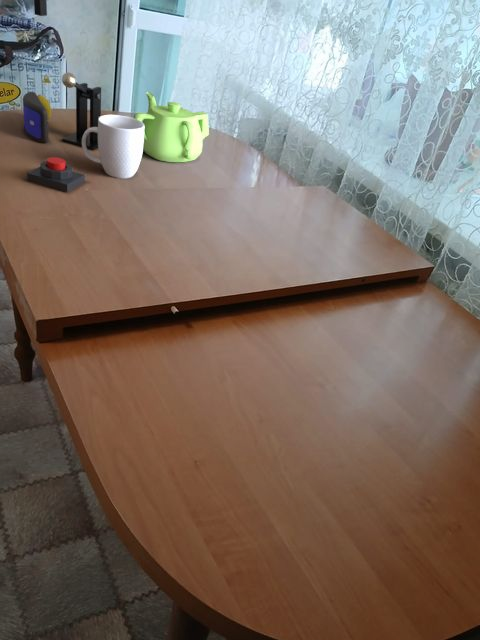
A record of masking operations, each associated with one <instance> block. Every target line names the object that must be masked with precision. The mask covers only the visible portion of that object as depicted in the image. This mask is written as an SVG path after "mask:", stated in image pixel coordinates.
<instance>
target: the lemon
mask: <svg viewBox="0 0 480 640" xmlns="http://www.w3.org/2000/svg"><path fill="white" fill-rule="evenodd" d="M37 96H38V98H39V99H40V101H41V102H42V104H43V105H44V107H45V108H46V111H47V121H48V120H49V119H50V117H51V115H52V107H51V104H50V101H49V100H48V99H47V98H46V97H45V96H44V95H42V94H40V93H39V94H37Z"/></svg>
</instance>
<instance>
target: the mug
mask: <svg viewBox="0 0 480 640" xmlns="http://www.w3.org/2000/svg"><path fill="white" fill-rule="evenodd" d="M90 132H95V133H97V134H98V148H97V149H98V156H99V158H98V157H95V156H94V155H92V154H91V153H90V152H89V149H87V147H86V138H87V135H88V134H89V133H90ZM143 143H144V124H143V123H142V122H141V121H139V120H137V119H134V117H131V116H127V115H121V114H105V115H101V116H100V117H99V118H98V127H91V128H90V127H88V128H87V130H86V131H85V133H84V134H83V137H82V147H81V149H82V151H83V154H84V155H85V156H86V158H87V159H89V160H90V161H91V162H94V163H97V164H99V165H101V166H102V169H103V170H104V172H105V173H106V175H108V176H110V177H113V178H117V179H129V178H132V177H134V176H135V174H136V172H137V171H138V169H139V167H140V164H141V161H142V158H143V152H144V151H143Z"/></svg>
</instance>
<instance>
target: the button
mask: <svg viewBox="0 0 480 640" xmlns="http://www.w3.org/2000/svg"><path fill="white" fill-rule="evenodd" d="M46 161H47V168H49V169H52V170H64V169H66V168H65V163H66V160H65V159H63V158H60V157H48V158H47V159H46Z"/></svg>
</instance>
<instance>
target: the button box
mask: <svg viewBox="0 0 480 640" xmlns="http://www.w3.org/2000/svg"><path fill="white" fill-rule="evenodd" d="M65 168H66V169H64V170H52V169H49V168H47V160H45V161H42V162H40V164H39V166H38V167H36V168H34V169H32V170H30V171H28V172H26V180H27V182H30V183H33V184H37V185H40V186H43V187H48V188H51V189H55V190H57V191H60V192H64V193H70V192H71V191H73V190H74V189H76V188H77V187H79V186H81V185H83V184H85V182H86V175H85V174H83V173H80V172H78V171H73V166H72V165H71V164H69V163H68V162H65Z"/></svg>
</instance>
